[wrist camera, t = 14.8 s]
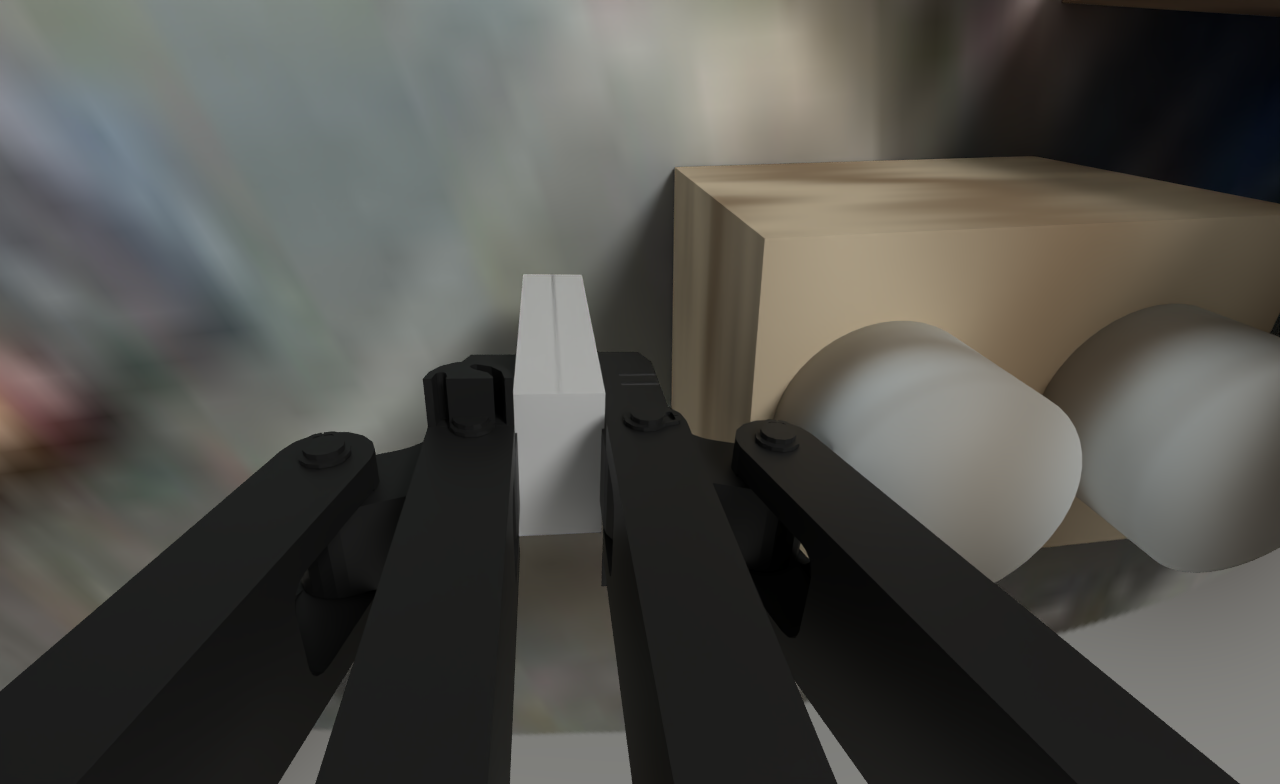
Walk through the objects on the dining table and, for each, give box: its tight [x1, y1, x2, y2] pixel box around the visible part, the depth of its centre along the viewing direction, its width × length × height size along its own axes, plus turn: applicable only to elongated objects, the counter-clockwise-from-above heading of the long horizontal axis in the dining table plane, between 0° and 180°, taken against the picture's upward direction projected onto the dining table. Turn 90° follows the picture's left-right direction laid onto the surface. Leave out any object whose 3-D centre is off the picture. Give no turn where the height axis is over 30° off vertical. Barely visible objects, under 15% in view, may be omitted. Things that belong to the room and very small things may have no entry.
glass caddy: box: [671, 156, 1280, 583], centre depth 14 cm, size 10×7×10 cm
